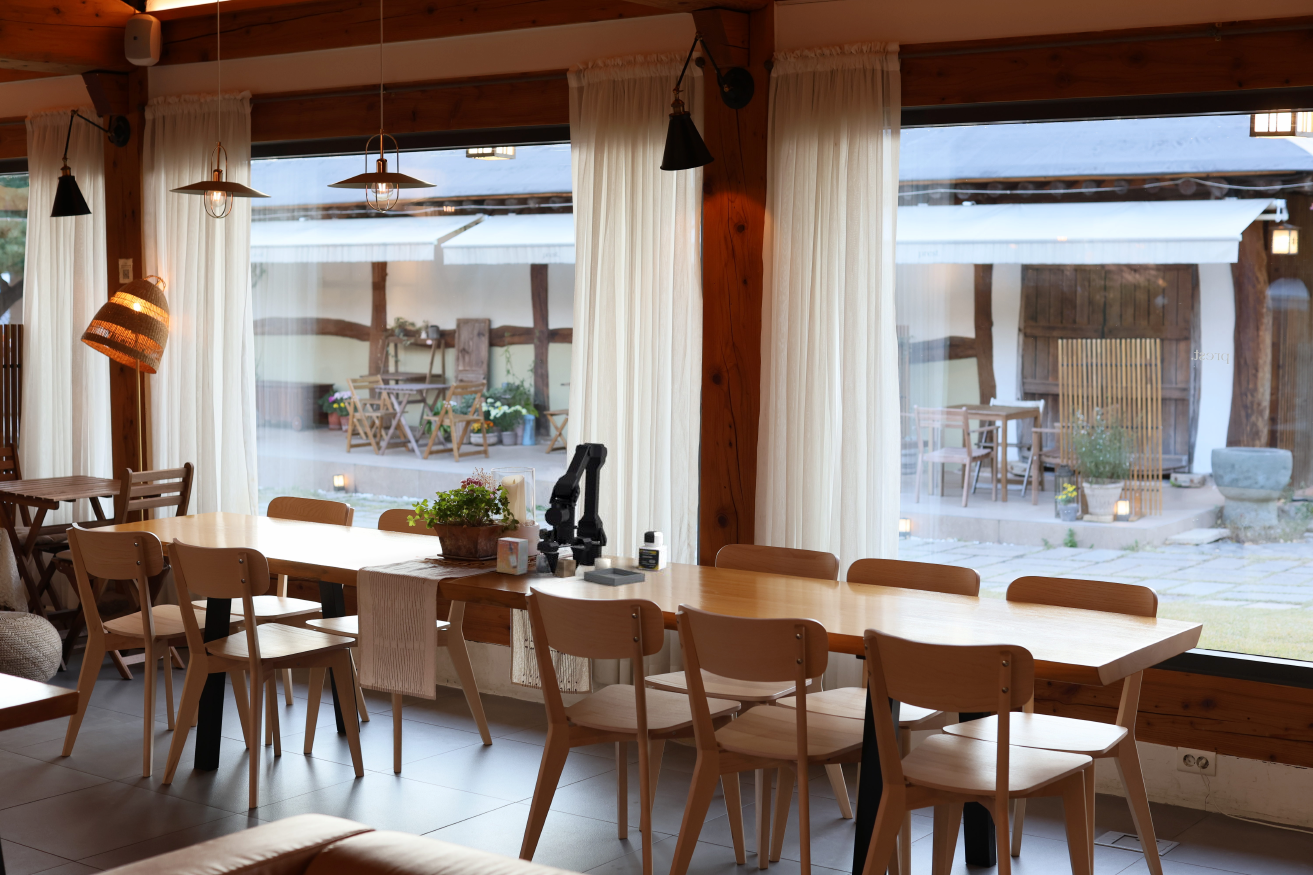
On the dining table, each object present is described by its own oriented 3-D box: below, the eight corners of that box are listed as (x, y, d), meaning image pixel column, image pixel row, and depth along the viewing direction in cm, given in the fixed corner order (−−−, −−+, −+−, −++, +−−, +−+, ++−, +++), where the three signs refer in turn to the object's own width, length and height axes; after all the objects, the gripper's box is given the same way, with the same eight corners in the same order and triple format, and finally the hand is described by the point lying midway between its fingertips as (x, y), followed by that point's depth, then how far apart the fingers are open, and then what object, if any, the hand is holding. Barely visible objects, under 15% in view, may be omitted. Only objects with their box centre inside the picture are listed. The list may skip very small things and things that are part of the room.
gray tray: (613, 574, 404) (614, 567, 404) (644, 581, 396) (644, 573, 395) (583, 579, 395) (584, 571, 394) (614, 586, 386) (615, 578, 386)
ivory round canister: (602, 572, 408) (602, 557, 407) (613, 575, 404) (614, 559, 404) (591, 574, 404) (591, 558, 404) (602, 576, 401) (602, 560, 400)
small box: (496, 572, 402) (497, 538, 401) (506, 569, 407) (507, 536, 406) (517, 575, 398) (518, 541, 398) (527, 572, 403) (528, 539, 402)
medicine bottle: (637, 568, 416) (639, 532, 415) (646, 565, 423) (647, 529, 422) (658, 571, 414) (659, 534, 413) (666, 567, 420) (667, 531, 419)
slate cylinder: (544, 569, 410) (545, 554, 409) (555, 571, 406) (555, 556, 406) (532, 571, 406) (533, 555, 405) (543, 573, 402) (544, 557, 402)
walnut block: (564, 573, 404) (564, 558, 403) (575, 576, 400) (575, 560, 400) (552, 575, 400) (552, 559, 399) (563, 578, 396) (564, 562, 396)
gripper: (569, 516, 411) (567, 564, 412) (525, 521, 397) (524, 571, 398) (593, 520, 404) (592, 569, 405) (550, 525, 390) (548, 576, 391)
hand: (564, 571), depth 400 cm, fingers open, 9 cm apart
